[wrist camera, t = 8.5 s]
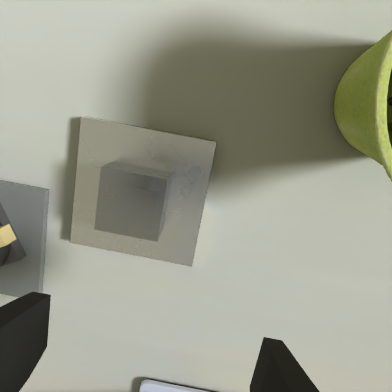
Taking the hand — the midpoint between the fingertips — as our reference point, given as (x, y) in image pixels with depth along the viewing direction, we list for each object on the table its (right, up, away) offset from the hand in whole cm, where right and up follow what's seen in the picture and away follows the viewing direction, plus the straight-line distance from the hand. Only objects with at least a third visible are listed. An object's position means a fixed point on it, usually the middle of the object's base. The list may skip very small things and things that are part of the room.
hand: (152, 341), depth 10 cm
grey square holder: (-2, +5, +10) cm, 11 cm away
